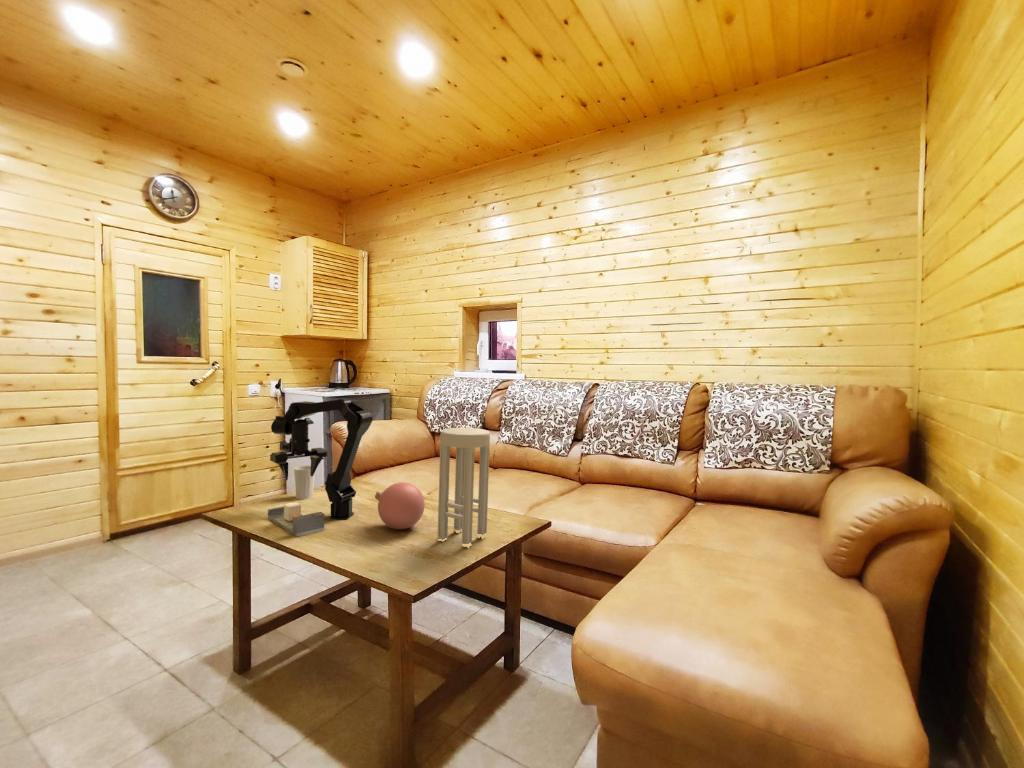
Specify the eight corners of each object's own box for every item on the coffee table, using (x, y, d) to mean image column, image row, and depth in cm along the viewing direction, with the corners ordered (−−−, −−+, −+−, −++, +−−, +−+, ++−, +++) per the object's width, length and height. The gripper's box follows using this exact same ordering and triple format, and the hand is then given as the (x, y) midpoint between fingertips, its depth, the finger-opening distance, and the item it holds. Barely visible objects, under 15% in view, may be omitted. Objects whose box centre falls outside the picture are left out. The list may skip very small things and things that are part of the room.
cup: (309, 500, 188) (310, 470, 188) (289, 499, 188) (290, 469, 188) (318, 494, 196) (318, 466, 196) (299, 494, 196) (299, 465, 196)
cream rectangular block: (283, 518, 163) (284, 504, 163) (295, 515, 166) (295, 502, 166) (294, 525, 157) (294, 510, 157) (306, 522, 160) (307, 508, 160)
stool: (456, 527, 164) (459, 426, 162) (495, 536, 156) (498, 430, 155) (428, 541, 150) (431, 431, 148) (469, 552, 143) (473, 436, 141)
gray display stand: (267, 518, 167) (268, 502, 166) (294, 512, 173) (294, 497, 173) (296, 537, 150) (296, 519, 150) (324, 530, 157) (324, 513, 156)
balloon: (394, 514, 175) (395, 473, 174) (433, 527, 163) (434, 482, 162) (359, 525, 162) (360, 480, 161) (398, 540, 150) (399, 492, 150)
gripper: (315, 431, 187) (314, 470, 188) (264, 435, 173) (264, 477, 174) (328, 434, 179) (327, 475, 180) (276, 439, 166) (275, 484, 166)
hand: (299, 478), depth 175 cm, fingers open, 9 cm apart
